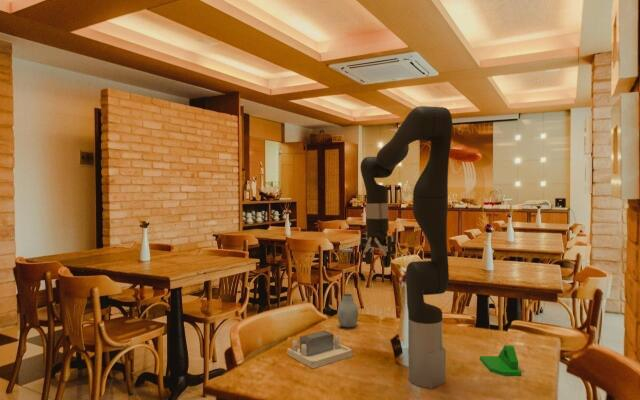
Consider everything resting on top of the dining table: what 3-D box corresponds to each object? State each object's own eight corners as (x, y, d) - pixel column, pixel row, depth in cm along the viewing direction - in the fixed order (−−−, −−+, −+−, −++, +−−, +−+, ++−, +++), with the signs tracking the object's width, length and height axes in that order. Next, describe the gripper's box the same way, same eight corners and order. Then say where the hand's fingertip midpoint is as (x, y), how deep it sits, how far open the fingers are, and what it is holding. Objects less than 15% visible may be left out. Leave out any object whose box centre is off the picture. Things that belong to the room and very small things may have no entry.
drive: (333, 349, 147) (333, 333, 146) (308, 356, 141) (308, 340, 141) (324, 345, 151) (324, 330, 150) (299, 351, 145) (299, 336, 145)
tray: (353, 356, 143) (353, 340, 143) (312, 368, 134) (312, 352, 134) (326, 343, 155) (326, 329, 154) (287, 354, 145) (287, 339, 145)
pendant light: (333, 325, 175) (332, 248, 174) (352, 322, 179) (351, 247, 178) (343, 331, 168) (342, 251, 167) (362, 328, 171) (361, 249, 170)
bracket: (479, 360, 139) (479, 338, 139) (505, 360, 139) (505, 338, 139) (493, 376, 127) (493, 353, 127) (521, 377, 127) (521, 353, 127)
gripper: (400, 217, 146) (401, 267, 146) (370, 215, 157) (370, 261, 157) (384, 218, 141) (385, 269, 141) (354, 216, 152) (354, 264, 153)
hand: (377, 265), depth 149 cm, fingers open, 8 cm apart
